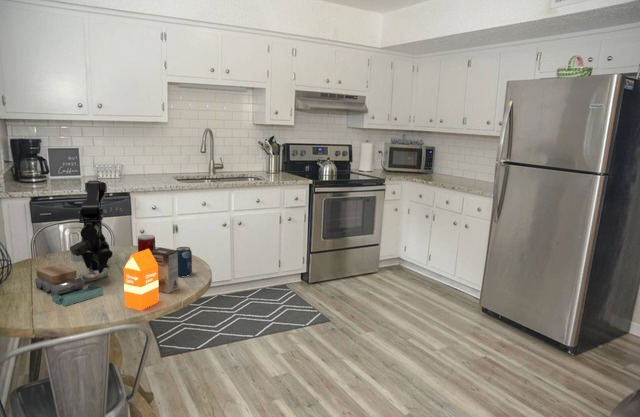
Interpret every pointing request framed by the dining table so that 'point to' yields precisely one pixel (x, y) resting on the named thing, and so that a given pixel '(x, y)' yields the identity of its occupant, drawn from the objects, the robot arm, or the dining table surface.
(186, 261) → the soda can
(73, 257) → the lumpy-topped squat cylinder
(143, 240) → the canned food
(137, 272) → the orange juice
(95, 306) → the dining table surface
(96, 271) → the roller
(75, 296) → the roller bed
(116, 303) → the dining table surface
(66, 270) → the slab
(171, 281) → the coffee box
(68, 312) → the dining table surface
